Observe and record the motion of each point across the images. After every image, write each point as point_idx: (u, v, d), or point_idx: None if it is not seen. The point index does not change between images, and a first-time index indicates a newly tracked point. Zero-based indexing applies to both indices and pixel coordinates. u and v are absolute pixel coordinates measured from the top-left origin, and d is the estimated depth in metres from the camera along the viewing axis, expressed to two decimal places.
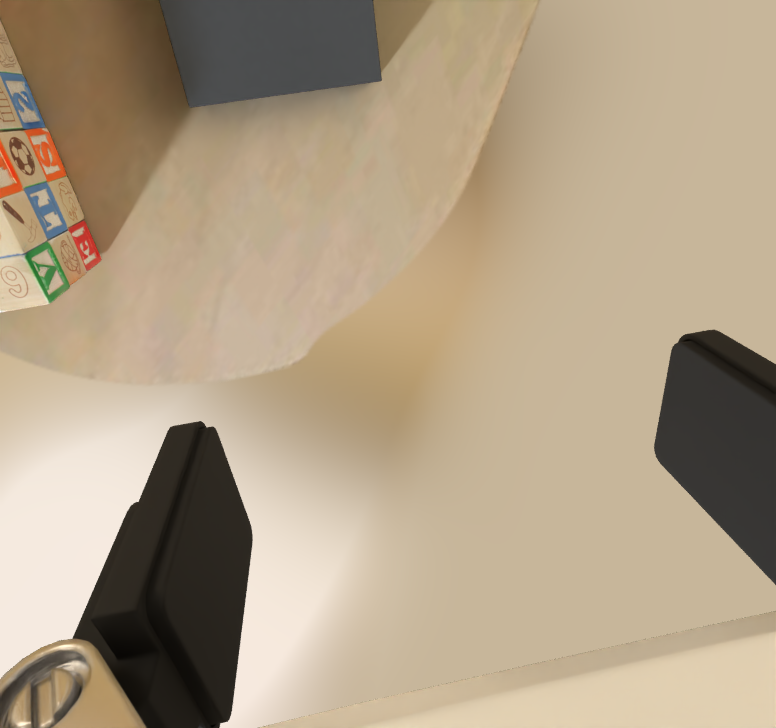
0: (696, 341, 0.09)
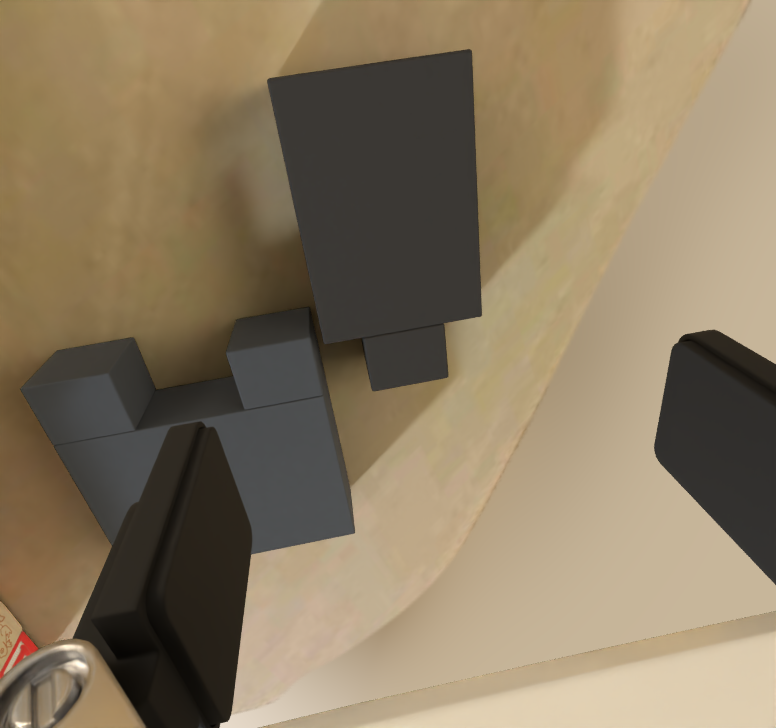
0: (696, 341, 0.09)
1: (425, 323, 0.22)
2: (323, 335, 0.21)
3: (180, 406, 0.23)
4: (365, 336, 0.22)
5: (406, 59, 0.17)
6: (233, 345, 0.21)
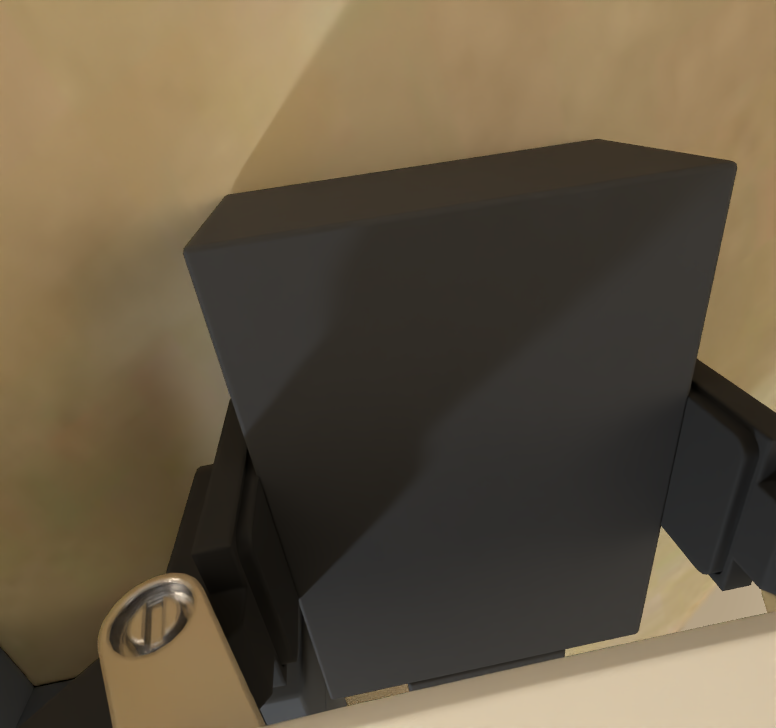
0: None
1: (530, 653, 0.11)
2: (329, 689, 0.11)
3: None
4: (412, 679, 0.11)
5: (566, 190, 0.06)
6: None
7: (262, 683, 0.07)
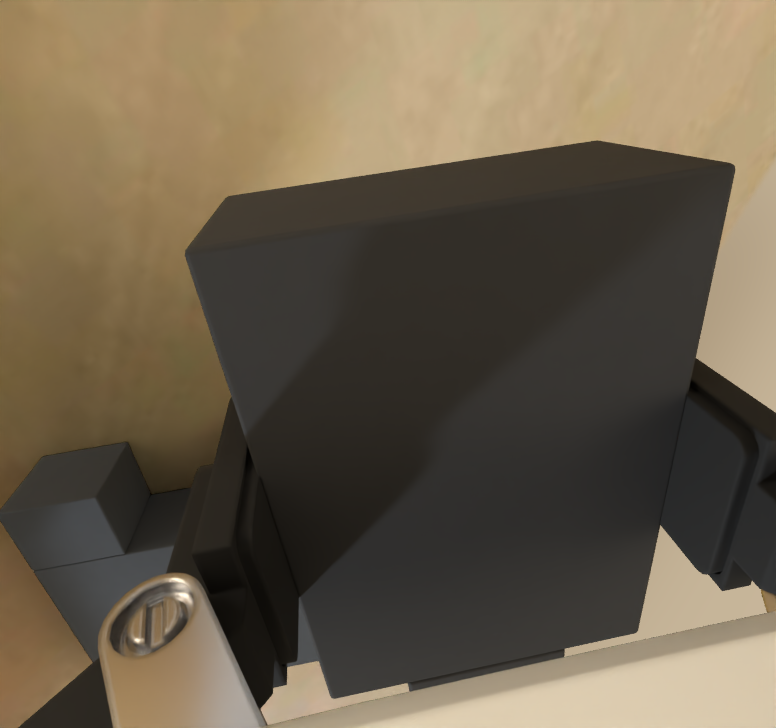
0: None
1: (530, 653, 0.11)
2: (330, 688, 0.11)
3: (177, 521, 0.21)
4: (412, 678, 0.11)
5: (565, 192, 0.06)
6: None
7: (262, 683, 0.07)
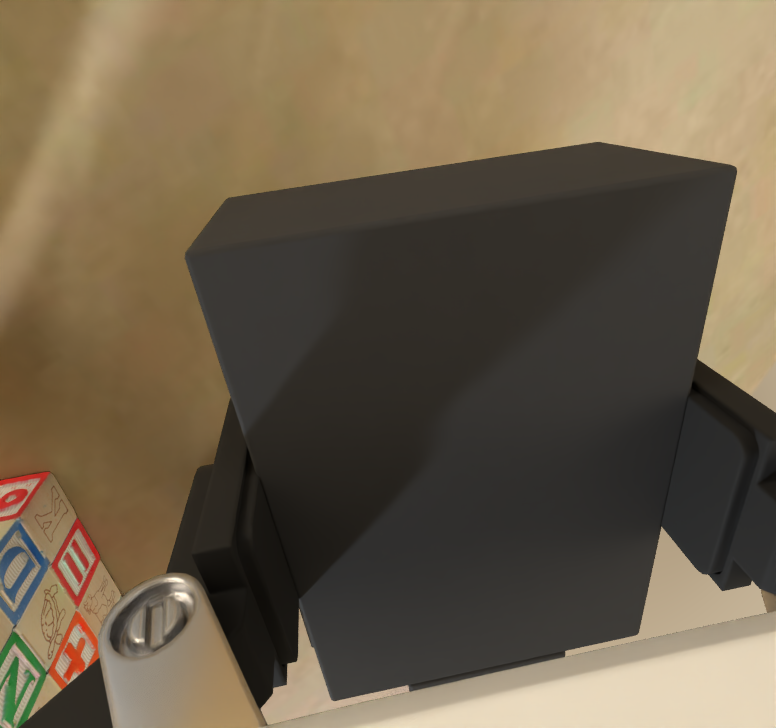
0: None
1: (530, 655, 0.11)
2: (330, 690, 0.11)
3: None
4: (412, 680, 0.11)
5: (566, 194, 0.06)
6: None
7: (262, 683, 0.07)
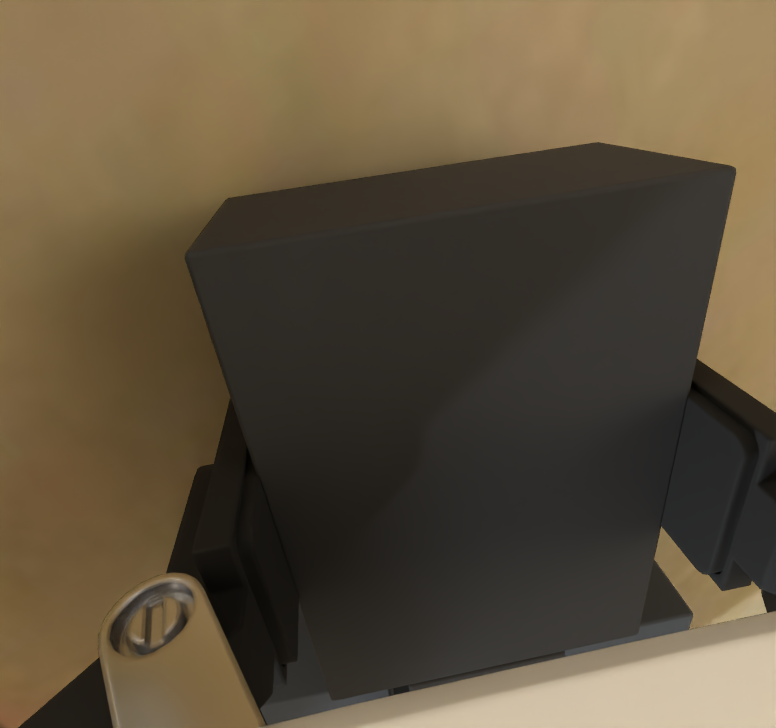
0: None
1: (530, 655, 0.11)
2: (330, 690, 0.11)
3: None
4: (412, 680, 0.11)
5: (566, 195, 0.06)
6: None
7: (262, 683, 0.07)
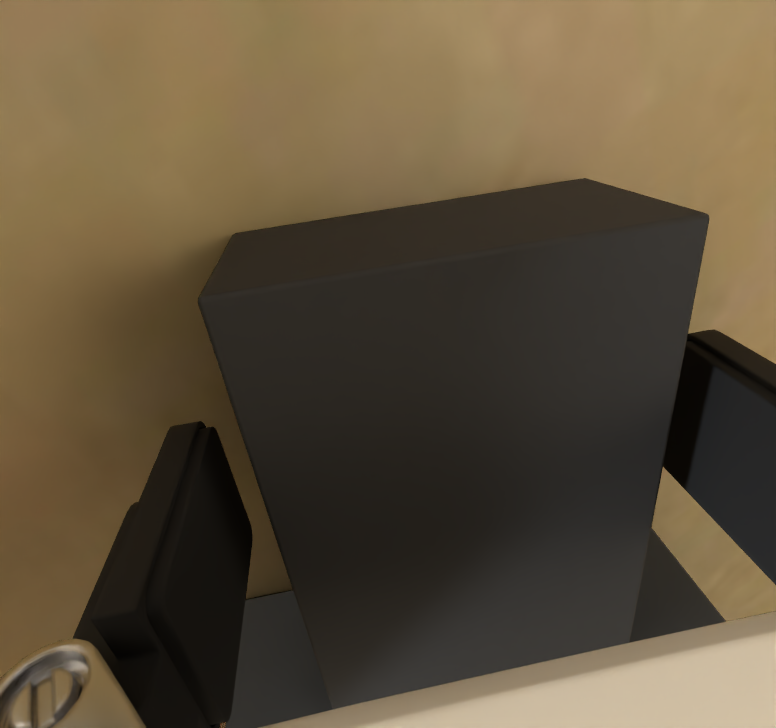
0: (696, 341, 0.09)
1: None
2: (332, 701, 0.11)
3: None
4: None
5: (551, 241, 0.07)
6: None
7: None
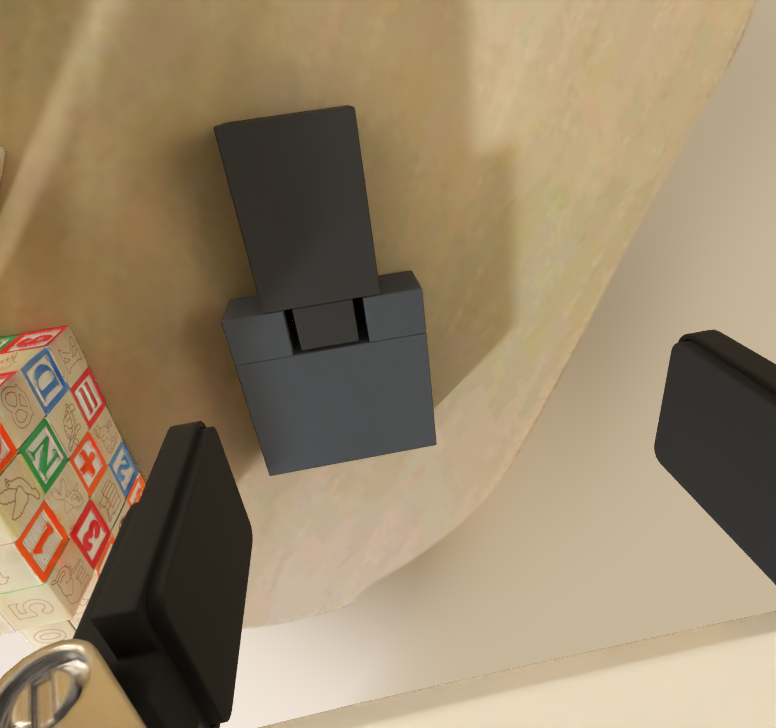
0: (696, 341, 0.09)
1: (337, 298, 0.29)
2: (262, 306, 0.29)
3: None
4: (293, 308, 0.29)
5: (309, 113, 0.25)
6: None
7: None
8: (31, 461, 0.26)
